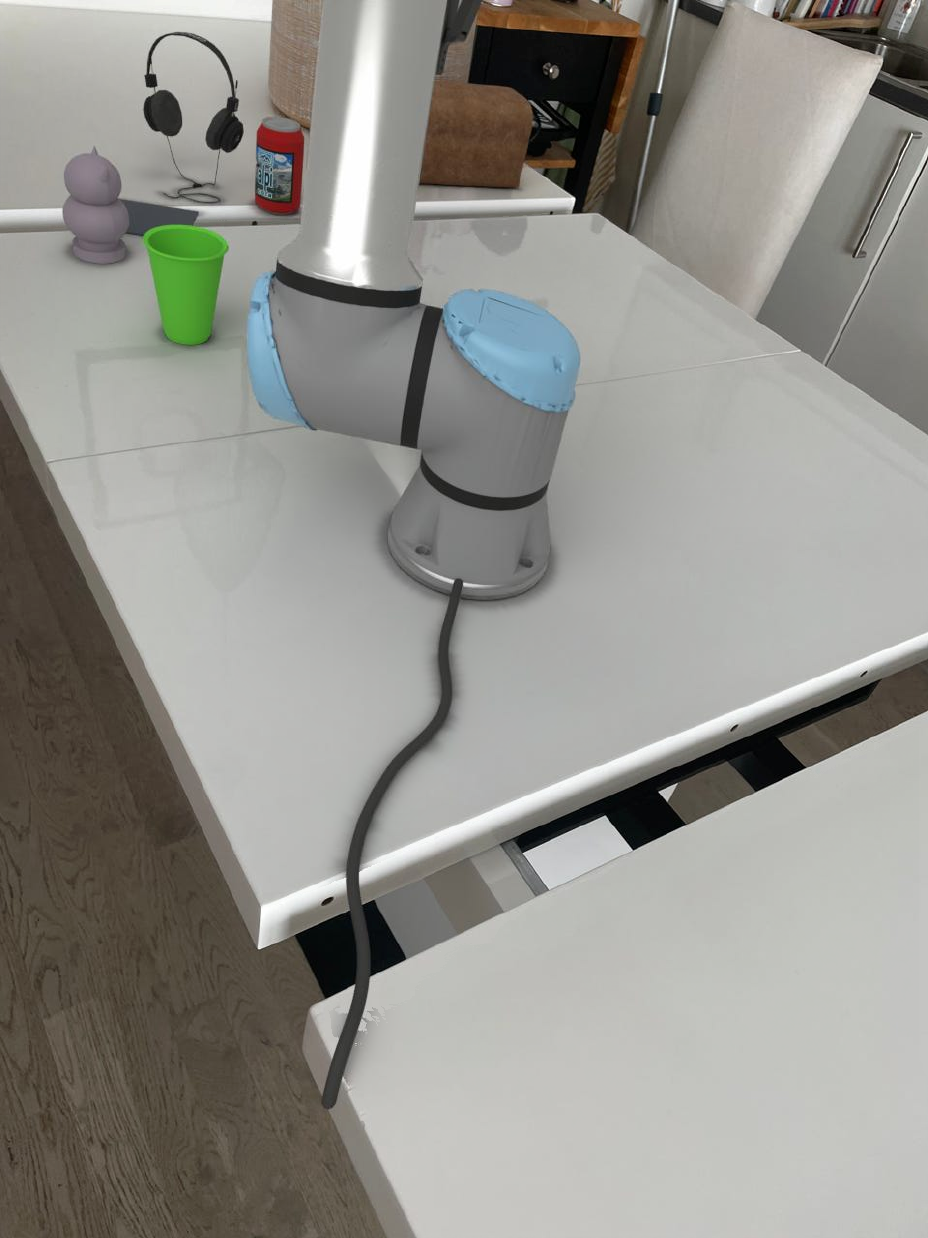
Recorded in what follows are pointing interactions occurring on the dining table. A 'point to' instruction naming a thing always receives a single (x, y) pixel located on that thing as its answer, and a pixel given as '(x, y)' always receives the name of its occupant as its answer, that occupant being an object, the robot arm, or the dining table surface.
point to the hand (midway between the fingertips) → (419, 102)
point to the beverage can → (279, 165)
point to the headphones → (168, 117)
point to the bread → (476, 135)
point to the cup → (186, 278)
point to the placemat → (155, 216)
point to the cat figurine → (95, 209)
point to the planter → (298, 51)
